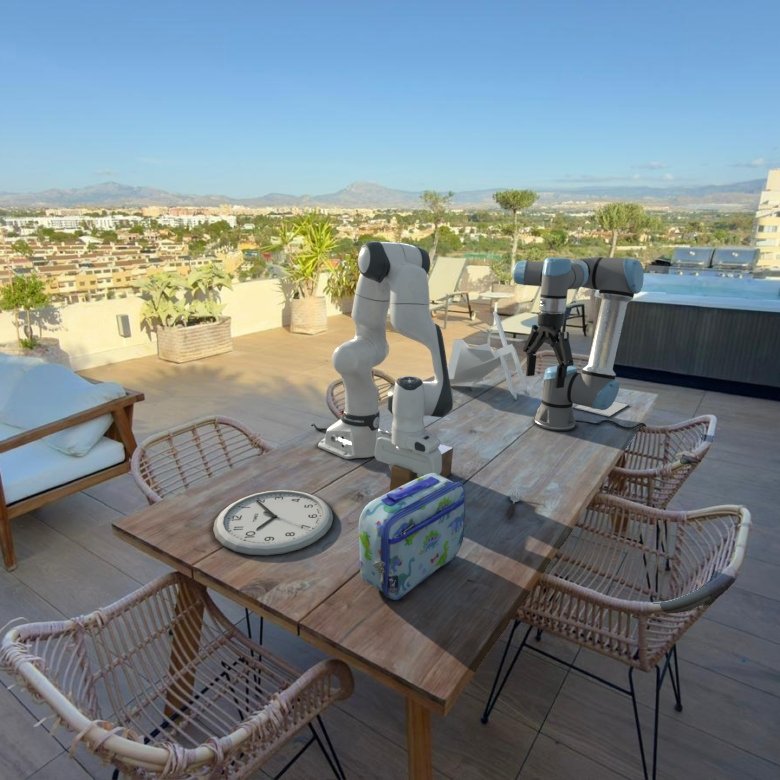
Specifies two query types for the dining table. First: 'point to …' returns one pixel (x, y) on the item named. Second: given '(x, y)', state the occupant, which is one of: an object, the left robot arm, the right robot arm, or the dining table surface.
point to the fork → (514, 499)
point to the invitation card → (608, 412)
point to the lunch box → (410, 533)
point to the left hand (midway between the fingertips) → (406, 482)
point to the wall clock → (273, 522)
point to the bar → (405, 476)
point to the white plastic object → (483, 361)
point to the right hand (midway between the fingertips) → (544, 381)
